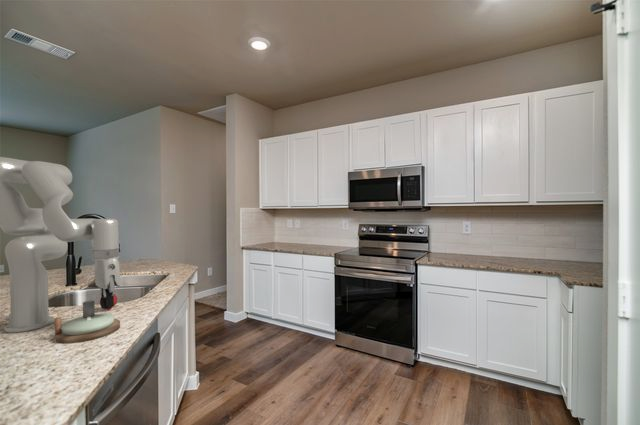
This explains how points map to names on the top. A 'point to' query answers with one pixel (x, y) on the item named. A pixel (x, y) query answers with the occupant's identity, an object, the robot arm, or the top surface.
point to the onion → (114, 301)
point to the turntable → (87, 321)
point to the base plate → (83, 337)
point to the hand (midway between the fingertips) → (107, 307)
